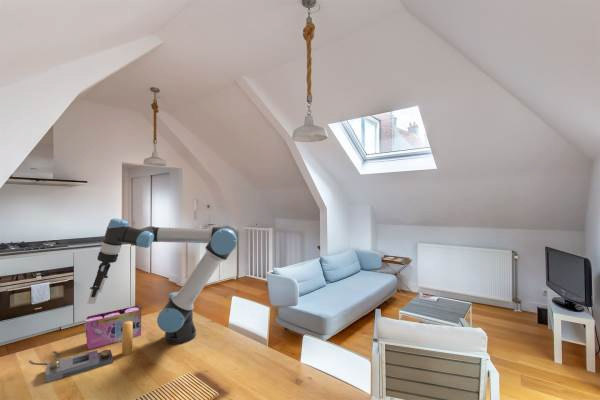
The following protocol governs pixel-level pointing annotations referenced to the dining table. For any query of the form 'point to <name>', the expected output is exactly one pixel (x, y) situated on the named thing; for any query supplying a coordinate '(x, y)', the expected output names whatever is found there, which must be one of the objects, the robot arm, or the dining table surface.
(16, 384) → the dining table surface
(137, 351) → the dining table surface
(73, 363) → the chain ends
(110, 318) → the gum box
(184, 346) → the dining table surface
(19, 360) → the dining table surface
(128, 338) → the pin
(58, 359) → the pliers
